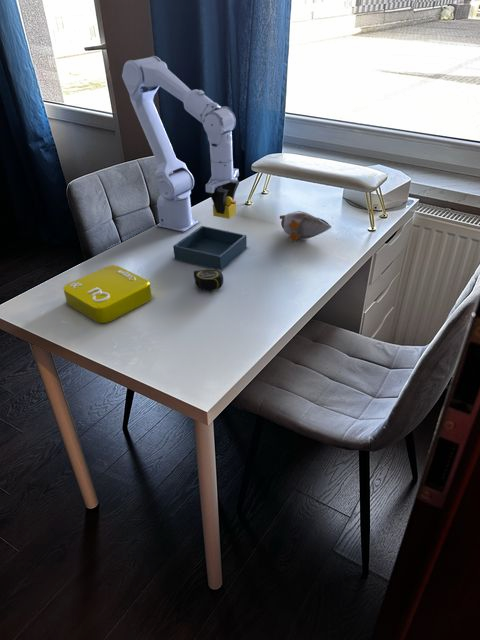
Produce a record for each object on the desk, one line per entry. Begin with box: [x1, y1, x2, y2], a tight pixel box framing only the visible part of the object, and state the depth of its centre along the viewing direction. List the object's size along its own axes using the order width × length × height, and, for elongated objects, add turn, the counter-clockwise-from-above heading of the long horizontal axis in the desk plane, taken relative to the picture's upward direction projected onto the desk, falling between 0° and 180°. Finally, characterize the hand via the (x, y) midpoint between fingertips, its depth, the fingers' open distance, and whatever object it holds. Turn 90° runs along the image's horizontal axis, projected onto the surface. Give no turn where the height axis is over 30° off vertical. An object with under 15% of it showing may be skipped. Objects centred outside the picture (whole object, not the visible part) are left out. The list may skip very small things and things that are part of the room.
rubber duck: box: [212, 196, 237, 220], centre depth 138 cm, size 6×4×5 cm, turn 64°
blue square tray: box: [172, 225, 248, 271], centre depth 135 cm, size 14×14×4 cm
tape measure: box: [193, 268, 224, 292], centre depth 121 cm, size 7×7×4 cm
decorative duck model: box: [279, 210, 332, 243], centre depth 143 cm, size 15×8×15 cm
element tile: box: [62, 264, 153, 324], centre depth 116 cm, size 15×15×5 cm
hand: (224, 210), depth 139 cm, fingers closed on rubber duck, 4 cm apart
